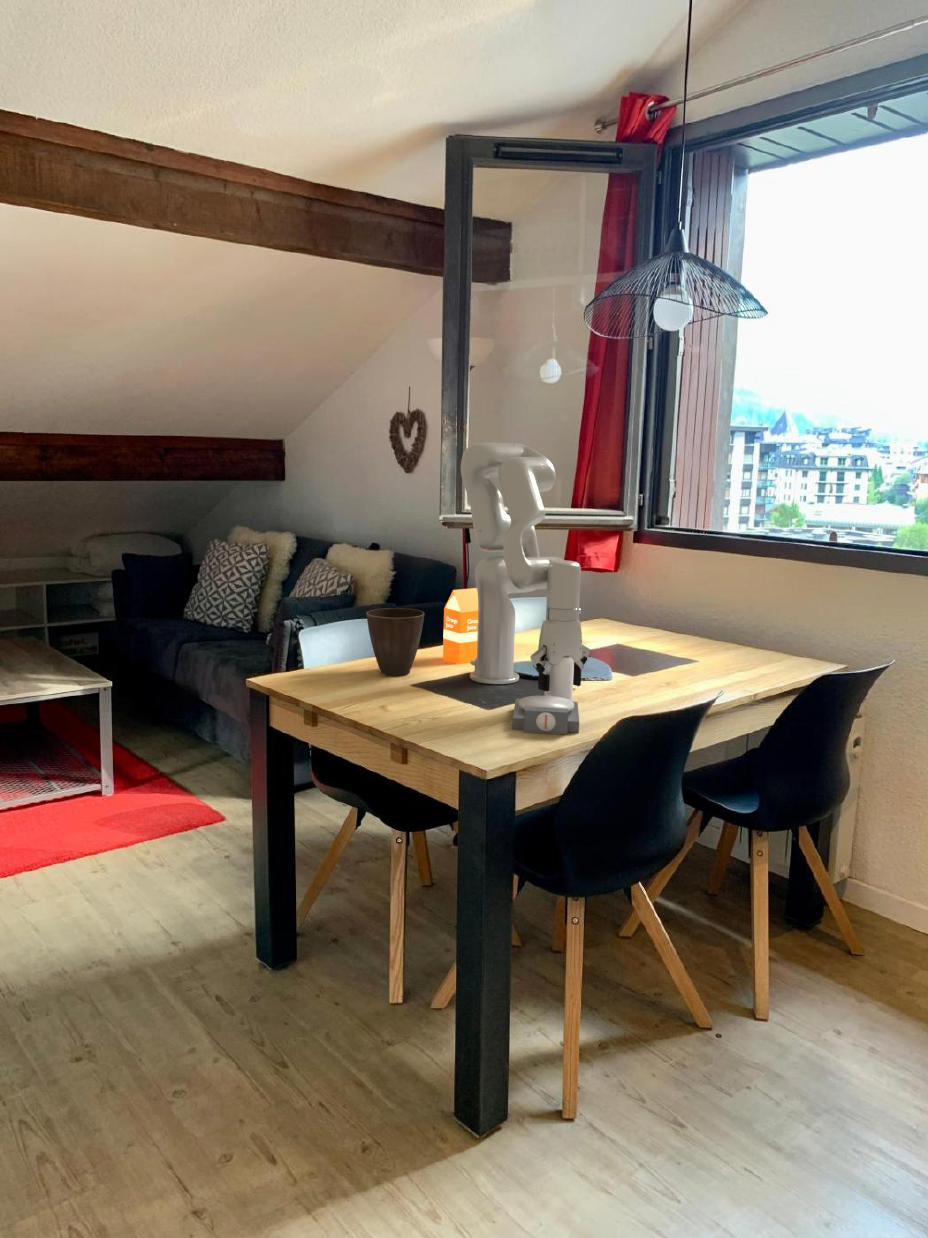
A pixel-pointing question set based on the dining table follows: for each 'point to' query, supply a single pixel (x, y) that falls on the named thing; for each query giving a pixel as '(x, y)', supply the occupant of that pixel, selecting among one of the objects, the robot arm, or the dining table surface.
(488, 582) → the robot arm
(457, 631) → the orange juice
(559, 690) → the can
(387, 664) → the plant pot
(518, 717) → the scale
